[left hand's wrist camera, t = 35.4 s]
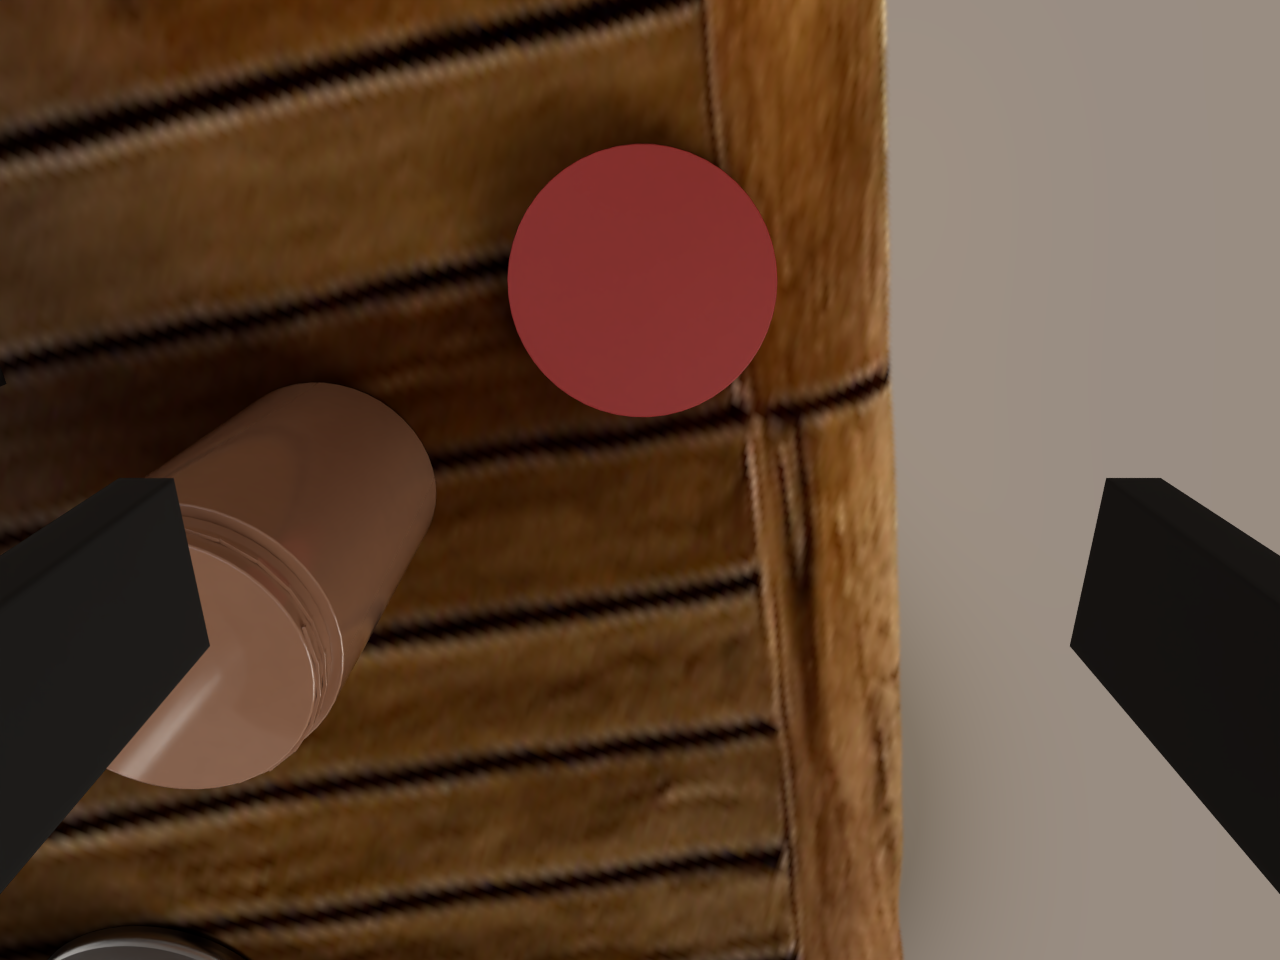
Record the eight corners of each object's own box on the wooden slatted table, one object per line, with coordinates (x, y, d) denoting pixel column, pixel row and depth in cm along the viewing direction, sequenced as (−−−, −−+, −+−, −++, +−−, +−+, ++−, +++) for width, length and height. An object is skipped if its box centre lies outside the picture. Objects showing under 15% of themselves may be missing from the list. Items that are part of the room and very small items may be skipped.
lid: (652, 452, 39) (652, 466, 37) (461, 292, 36) (452, 299, 35) (824, 270, 36) (833, 277, 34) (630, 81, 33) (630, 78, 32)
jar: (265, 592, 42) (78, 818, 28) (191, 402, 38) (-66, 554, 24) (459, 560, 41) (368, 775, 27) (403, 364, 38) (263, 497, 24)
